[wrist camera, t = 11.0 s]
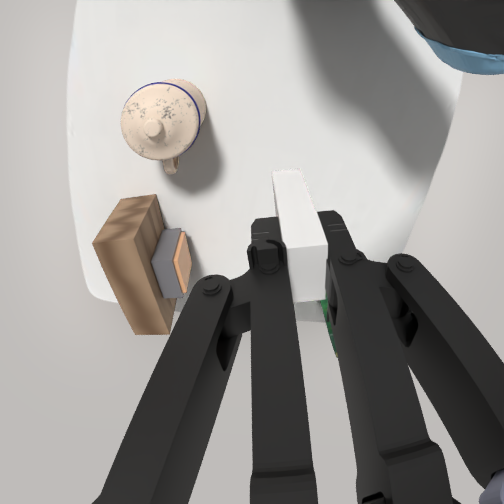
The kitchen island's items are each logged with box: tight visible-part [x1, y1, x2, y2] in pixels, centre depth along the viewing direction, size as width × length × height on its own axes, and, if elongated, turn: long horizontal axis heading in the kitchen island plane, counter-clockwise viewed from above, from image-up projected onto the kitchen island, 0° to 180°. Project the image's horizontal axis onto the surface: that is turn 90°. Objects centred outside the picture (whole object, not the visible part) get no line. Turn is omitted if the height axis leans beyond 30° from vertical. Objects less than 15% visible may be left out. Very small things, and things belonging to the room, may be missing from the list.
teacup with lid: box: [121, 79, 206, 174], centre depth 33 cm, size 12×9×12 cm
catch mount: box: [92, 194, 177, 335], centre depth 45 cm, size 6×18×12 cm, turn 4°
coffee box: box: [320, 294, 338, 358], centre depth 52 cm, size 8×3×13 cm, turn 20°
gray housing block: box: [151, 228, 192, 299], centre depth 45 cm, size 9×7×8 cm
